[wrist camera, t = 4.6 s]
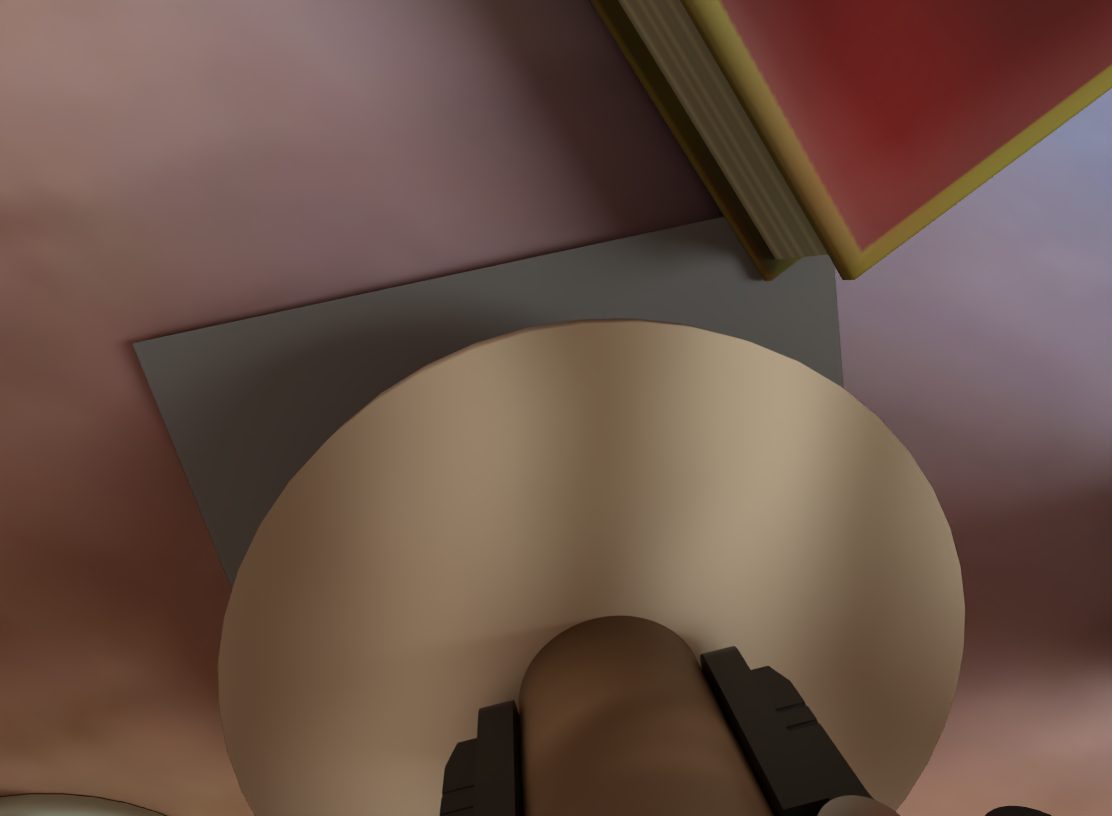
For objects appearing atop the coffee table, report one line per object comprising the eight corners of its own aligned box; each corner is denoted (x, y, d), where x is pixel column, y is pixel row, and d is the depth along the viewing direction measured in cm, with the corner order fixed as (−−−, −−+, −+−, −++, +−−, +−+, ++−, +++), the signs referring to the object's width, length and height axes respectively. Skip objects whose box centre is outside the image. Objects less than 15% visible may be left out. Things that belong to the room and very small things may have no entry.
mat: (816, 196, 16) (828, 194, 15) (858, 725, 20) (869, 738, 20) (146, 340, 15) (131, 343, 14) (354, 862, 19) (350, 880, 19)
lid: (914, 239, 11) (1269, 216, 6) (945, 838, 16) (1175, 1135, 10) (118, 420, 11) (-247, 567, 6) (365, 993, 15) (290, 1394, 10)
